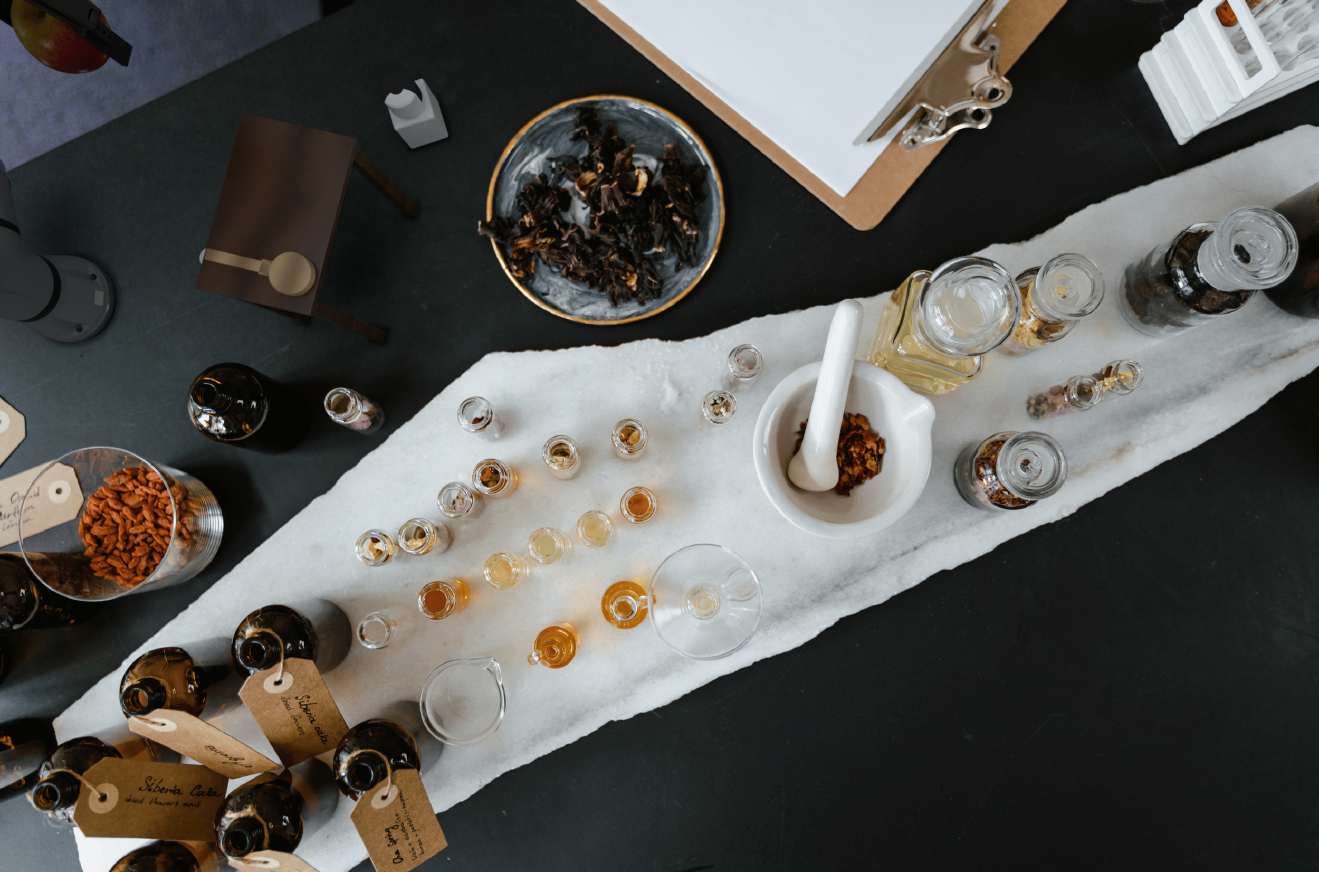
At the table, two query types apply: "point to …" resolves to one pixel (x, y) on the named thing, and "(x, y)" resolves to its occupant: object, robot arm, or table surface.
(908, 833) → the table surface
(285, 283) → the wooden paddle
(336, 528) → the table surface
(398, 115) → the gray notched block
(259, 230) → the dark wooden stool
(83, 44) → the fruit
